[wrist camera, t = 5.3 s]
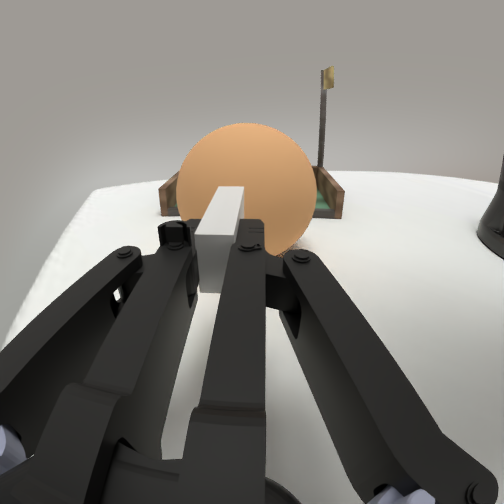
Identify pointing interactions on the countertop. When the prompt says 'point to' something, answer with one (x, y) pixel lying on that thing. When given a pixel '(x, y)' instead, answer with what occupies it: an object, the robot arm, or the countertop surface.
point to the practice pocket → (327, 187)
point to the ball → (252, 180)
